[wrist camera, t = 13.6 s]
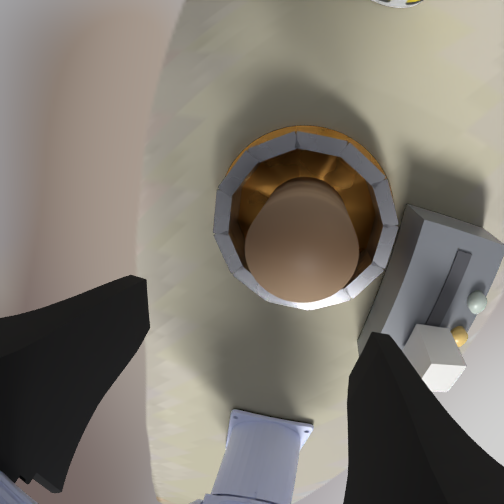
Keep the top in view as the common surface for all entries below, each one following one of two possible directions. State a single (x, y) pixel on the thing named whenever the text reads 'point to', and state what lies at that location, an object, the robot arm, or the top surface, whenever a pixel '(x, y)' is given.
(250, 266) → the brown tapered cylinder
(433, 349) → the handle
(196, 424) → the top surface
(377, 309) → the switch box
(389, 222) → the ring
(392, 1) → the supplement bottle
